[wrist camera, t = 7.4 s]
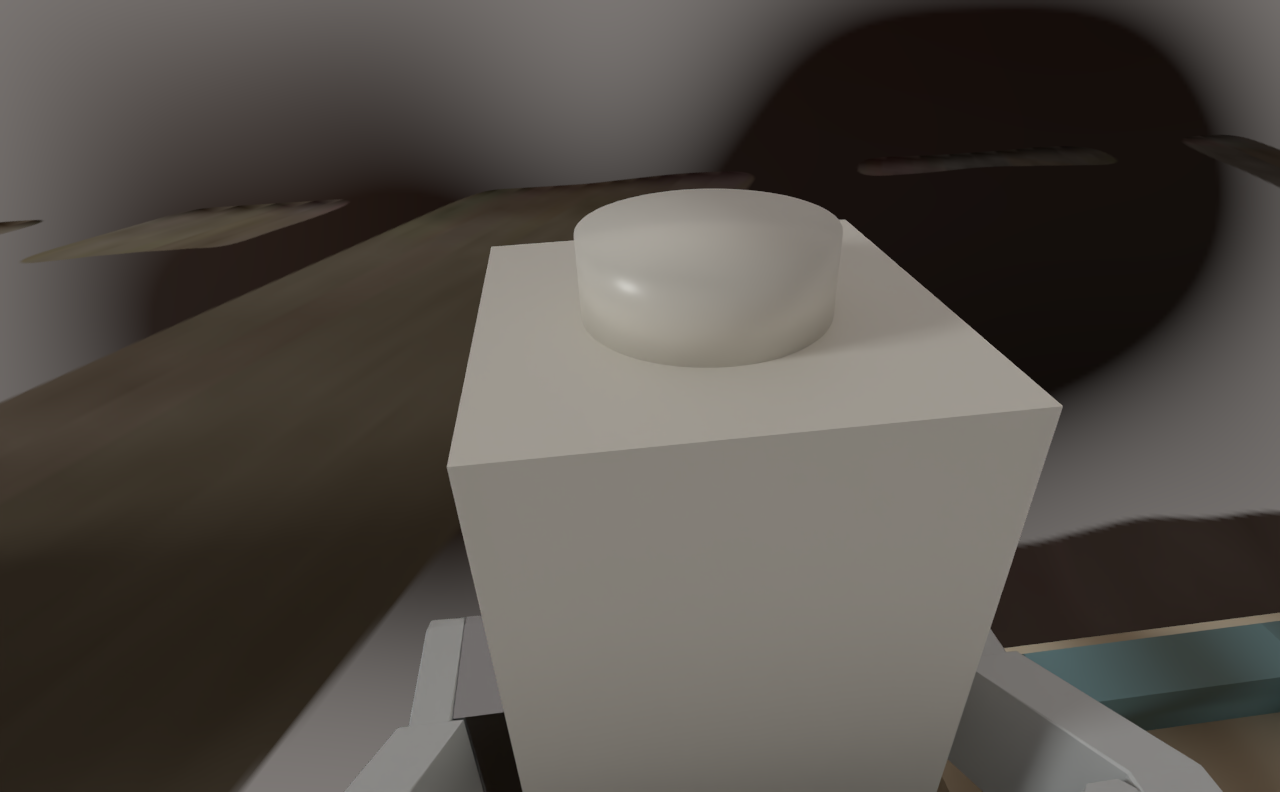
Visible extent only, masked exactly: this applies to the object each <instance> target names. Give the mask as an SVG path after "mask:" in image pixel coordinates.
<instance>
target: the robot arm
mask: <svg viewBox="0 0 1280 792" xmlns="http://www.w3.org/2000/svg"><path fill="white" fill-rule="evenodd" d="M948 760H949V761H950V762H951V763H952V764H953V765H955V766H956V767H957V768H958V769H959V770H960V771H961V772H962V773H963V774H964V775H965V776H967V777H968V778H969V779H970V780H971V781H972V782H973V783H974V784H975V785H976V786H978V787H979V788H980V789H981V790H982V791H983V792H1223V791H1222V790H1221V789H1220V788H1219V787H1218V785H1217V784H1216V783H1215V782H1214V780H1213V779H1212V778H1211V777H1210V775H1209V774H1208V773H1207V772H1206V771H1205V769H1204V768H1203V767H1202V766H1201V765H1200V764H1198V763H1197V762H1195V761H1194V760H1192V759H1190V758H1189V757H1187V756H1186V755H1184V754H1182V753H1181V752H1179V751H1177V750H1176V749H1174V748H1173V747H1171V746H1169V745H1168V744H1166V743H1164V742H1163V741H1161V740H1160V739H1158V738H1156V737H1155V736H1153V735H1152V734H1150V733H1148V732H1147V731H1145V730H1143V729H1142V728H1140V727H1139V726H1137V725H1135V724H1134V723H1132V722H1131V721H1129V720H1127V719H1126V718H1124V717H1122V716H1121V715H1119V714H1118V713H1116V712H1114V711H1113V710H1111V709H1109V708H1108V707H1106V706H1105V705H1103V704H1101V703H1100V702H1098V701H1097V700H1095V699H1093V698H1092V697H1090V696H1088V695H1087V694H1085V693H1084V692H1082V691H1080V690H1079V689H1077V688H1075V687H1074V686H1072V685H1071V684H1069V683H1067V682H1066V681H1064V680H1063V679H1061V678H1059V677H1058V676H1056V675H1054V674H1053V673H1051V672H1050V671H1048V670H1046V669H1045V668H1043V667H1042V666H1040V665H1038V664H1037V663H1035V662H1033V661H1032V660H1030V659H1029V658H1027V657H1025V656H1024V655H1022V654H1020V653H1019V652H1017V651H1011V652H1006V651H1005V649H1004V648H1003V646H1002V645H1001V643H1000V642H999V640H998V639H997V638H996V636H995V635H994V633H993V632H992V630H991V629H990V631H989V634H988V637H987V640H986V643H985V646H984V649H983V652H982V655H981V658H980V661H979V664H978V667H977V670H976V673H975V676H974V679H973V682H972V686H971V689H970V692H969V695H968V698H967V701H966V704H965V707H964V710H963V713H962V716H961V719H960V722H959V725H958V728H957V731H956V734H955V737H954V741H953V744H952V747H951V750H950V753H949V756H948ZM344 792H523V791H522V787H521V783H520V778H519V774H518V770H517V766H516V761H515V757H514V753H513V748H512V744H511V740H510V736H509V731H508V727H507V723H506V718H505V714H504V710H503V706H502V701H501V697H500V693H499V689H498V684H497V680H496V676H495V671H494V667H493V663H492V659H491V654H490V650H489V646H488V641H487V637H486V633H485V629H484V624H483V620H482V616H481V615H480V616H469V617H462V618H451V619H441V620H432V621H431V622H430V624H429V626H428V628H427V630H426V635H425V640H424V645H423V651H422V656H421V662H420V667H419V673H418V678H417V684H416V689H415V695H414V700H413V706H412V711H411V716H410V722H409V726H406V727H399V728H397V729H396V730H395V731H394V733H393V734H392V735H391V736H390V737H389V738H388V740H387V741H386V742H385V743H384V745H383V746H382V747H381V748H380V749H379V751H378V752H377V753H376V754H375V755H374V756H373V758H372V759H371V760H370V761H369V762H368V764H367V765H366V766H365V767H364V768H363V769H362V771H361V772H360V773H359V774H358V776H357V777H356V778H355V779H354V780H353V782H352V783H351V784H350V785H349V786H348V787H347V789H346V790H345V791H344Z"/></svg>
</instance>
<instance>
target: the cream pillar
mask: <svg viewBox="0 0 1280 792" xmlns="http://www.w3.org/2000/svg"><path fill="white" fill-rule="evenodd" d="M1062 407H1063V406H1062V405H1061V404H1060V403H1059V402H1057V401H1056V400H1055V399H1054V398H1053V397H1052V396H1050V395H1049V394H1048V393H1047V392H1046V391H1044V390H1043V389H1042V388H1041V387H1040V386H1039V385H1038V384H1036V383H1035V382H1034V381H1033V380H1032V379H1031V378H1029V377H1028V376H1027V375H1026V374H1025V373H1024V372H1022V371H1021V370H1020V369H1019V368H1018V367H1017V366H1015V365H1014V364H1013V363H1012V362H1011V361H1010V360H1008V359H1007V358H1006V357H1005V356H1004V355H1003V354H1001V353H1000V352H999V351H998V350H997V349H996V348H994V347H993V346H992V345H991V344H990V343H989V342H987V341H986V340H985V339H984V338H983V337H982V336H980V335H979V334H978V333H977V332H976V331H975V330H973V329H972V328H971V327H970V326H969V325H968V324H966V323H965V322H964V321H963V320H962V319H961V318H959V317H958V316H957V315H956V314H955V313H954V312H952V311H951V310H950V309H949V308H948V307H947V306H945V305H944V304H943V303H941V301H940V300H938V299H937V298H936V297H935V296H934V295H932V294H931V293H930V292H929V291H928V290H927V289H925V288H924V287H923V286H922V285H921V284H920V283H919V282H917V281H916V280H915V279H914V278H913V277H912V276H910V275H909V274H908V273H907V272H906V271H905V270H903V269H902V268H901V267H900V266H899V265H897V264H896V263H895V262H894V261H893V260H892V259H891V258H889V257H888V256H887V255H886V254H885V253H884V252H882V251H881V250H880V249H879V248H878V247H876V246H875V245H874V244H873V243H872V242H871V241H870V240H868V239H867V238H866V237H865V236H863V234H861V233H860V232H859V231H858V230H857V229H855V228H854V227H853V226H852V225H851V224H850V223H848V222H847V221H846V220H838V219H837V217H836V216H834V215H833V214H832V213H830V212H829V211H828V210H826V209H824V208H822V207H820V206H818V205H815V204H813V203H810V202H807V201H804V200H800V199H797V198H793V197H789V196H785V195H779V194H774V193H767V192H761V191H750V190H739V189H689V190H676V191H667V192H659V193H653V194H647V195H641V196H637V197H632V198H628V199H625V200H621V201H617V202H614V203H612V204H609V205H606V206H604V207H601V208H599V209H597V210H595V211H593V212H592V213H590V214H588V215H587V216H585V217H584V218H583V219H582V220H581V221H580V222H579V223H578V224H577V226H576V228H575V230H574V241H561V242H548V243H535V244H522V245H509V246H496V247H491V251H490V256H489V261H488V266H487V271H486V276H485V281H484V286H483V291H482V296H481V301H480V306H479V311H478V316H477V321H476V325H475V330H474V335H473V340H472V345H471V350H470V355H469V360H468V365H467V370H466V375H465V380H464V385H463V390H462V395H461V400H460V405H459V410H458V415H457V420H456V424H455V429H454V434H453V439H452V444H451V449H450V454H449V459H448V464H447V470H448V474H449V479H450V483H451V487H452V492H453V496H454V500H455V504H456V509H457V513H458V517H459V522H460V526H461V530H462V534H463V539H464V543H465V547H466V552H467V556H468V560H469V564H470V569H471V573H472V577H473V581H474V586H475V590H476V594H477V599H478V603H479V607H480V611H481V616H482V620H483V624H484V629H485V633H486V637H487V641H488V646H489V650H490V654H491V659H492V663H493V667H494V671H495V676H496V680H497V684H498V689H499V693H500V697H501V701H502V706H503V710H504V714H505V718H506V723H507V727H508V731H509V736H510V740H511V744H512V748H513V753H514V757H515V761H516V766H517V770H518V774H519V778H520V783H521V787H522V791H523V792H937V789H938V786H939V783H940V780H941V777H942V774H943V771H944V768H945V765H946V762H947V759H948V756H949V753H950V750H951V747H952V744H953V741H954V737H955V734H956V731H957V728H958V725H959V722H960V719H961V716H962V713H963V710H964V707H965V704H966V701H967V698H968V695H969V692H970V689H971V686H972V682H973V679H974V676H975V673H976V670H977V667H978V664H979V661H980V658H981V655H982V652H983V649H984V646H985V643H986V640H987V637H988V634H989V631H990V627H991V624H992V621H993V618H994V615H995V612H996V609H997V606H998V603H999V600H1000V597H1001V594H1002V591H1003V588H1004V585H1005V582H1006V579H1007V576H1008V572H1009V569H1010V566H1011V563H1012V560H1013V557H1014V554H1015V551H1016V548H1017V545H1018V542H1019V539H1020V536H1021V533H1022V529H1023V527H1024V524H1025V521H1026V517H1027V514H1028V511H1029V508H1030V505H1031V502H1032V499H1033V496H1034V493H1035V490H1036V487H1037V484H1038V481H1039V477H1040V475H1041V472H1042V468H1043V466H1044V462H1045V459H1046V456H1047V453H1048V450H1049V447H1050V444H1051V441H1052V438H1053V435H1054V432H1055V429H1056V426H1057V423H1058V420H1059V416H1060V414H1061V410H1062Z"/></svg>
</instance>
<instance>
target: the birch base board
mask: <svg viewBox="0 0 1280 792" xmlns="http://www.w3.org/2000/svg"><path fill="white" fill-rule="evenodd" d="M1004 649H1005V651H1006V652H1011V651H1017V652H1019V653H1020V654H1022V655H1024V656H1025V657H1027V658H1029V659H1030V660H1032V661H1033V662H1035V663H1037V664H1038V665H1040V666H1042V667H1043V668H1045V669H1046V670H1048V671H1050V672H1051V673H1053V674H1054V675H1056V676H1058V677H1059V678H1061V679H1063V680H1064V681H1066V682H1067V683H1069V684H1071V685H1072V686H1074V687H1075V688H1077V689H1079V690H1080V691H1082V692H1084V693H1085V694H1087V695H1088V696H1090V697H1092V698H1093V699H1095V700H1097V701H1098V702H1100V703H1101V704H1103V705H1105V706H1106V707H1108V708H1109V709H1111V710H1113V711H1114V712H1116V713H1118V714H1119V715H1121V716H1122V717H1124V718H1126V719H1127V720H1129V721H1131V722H1132V723H1134V724H1135V725H1137V726H1139V727H1140V728H1142V729H1143V730H1145V731H1147V732H1148V733H1150V734H1152V735H1153V736H1155V737H1156V738H1158V739H1160V740H1161V741H1163V742H1164V743H1166V744H1168V745H1169V746H1171V747H1173V748H1174V749H1176V750H1177V751H1179V752H1181V753H1182V754H1184V755H1186V756H1187V757H1189V758H1190V759H1192V760H1194V761H1195V762H1197V763H1198V764H1200V765H1201V766H1202V767H1203V768H1204V769H1205V771H1206V772H1207V773H1208V774H1209V775H1210V777H1211V778H1212V779H1213V780H1214V782H1215V783H1216V784H1217V785H1218V787H1219V788H1220V789H1221V790H1222V791H1223V792H1280V613H1274V614H1266V615H1259V616H1251V617H1243V618H1235V619H1228V620H1220V621H1212V622H1204V623H1196V624H1189V625H1181V626H1173V627H1165V628H1158V629H1150V630H1142V631H1134V632H1127V633H1119V634H1111V635H1103V636H1095V637H1088V638H1080V639H1072V640H1064V641H1057V642H1049V643H1041V644H1033V645H1025V646H1018V647H1010V648H1004ZM937 792H983V791H982V790H981V789H980V788H979V787H978V786H976V785H975V784H974V783H973V782H972V781H971V780H970V779H969V778H968V777H967V776H965V775H964V774H963V773H962V772H961V771H960V770H959V769H958V768H957V767H956V766H955V765H953V764H952V763H951V762H950V761H949V760H948V759H947V762H946V765H945V768H944V771H943V774H942V777H941V780H940V783H939V786H938V789H937Z"/></svg>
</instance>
